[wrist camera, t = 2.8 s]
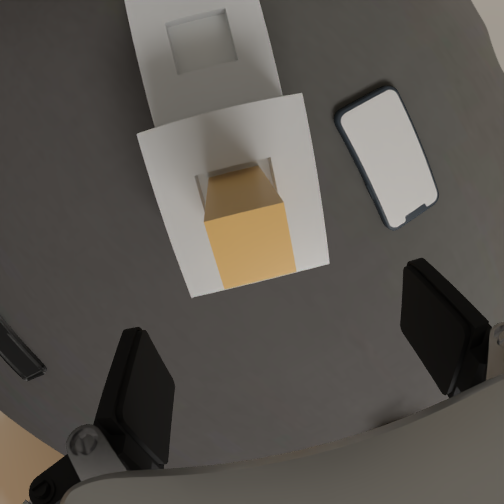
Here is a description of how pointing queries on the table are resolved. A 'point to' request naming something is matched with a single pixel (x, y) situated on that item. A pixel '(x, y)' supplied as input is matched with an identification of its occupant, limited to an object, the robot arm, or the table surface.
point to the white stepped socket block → (220, 124)
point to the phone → (19, 354)
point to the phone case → (388, 155)
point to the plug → (247, 228)
